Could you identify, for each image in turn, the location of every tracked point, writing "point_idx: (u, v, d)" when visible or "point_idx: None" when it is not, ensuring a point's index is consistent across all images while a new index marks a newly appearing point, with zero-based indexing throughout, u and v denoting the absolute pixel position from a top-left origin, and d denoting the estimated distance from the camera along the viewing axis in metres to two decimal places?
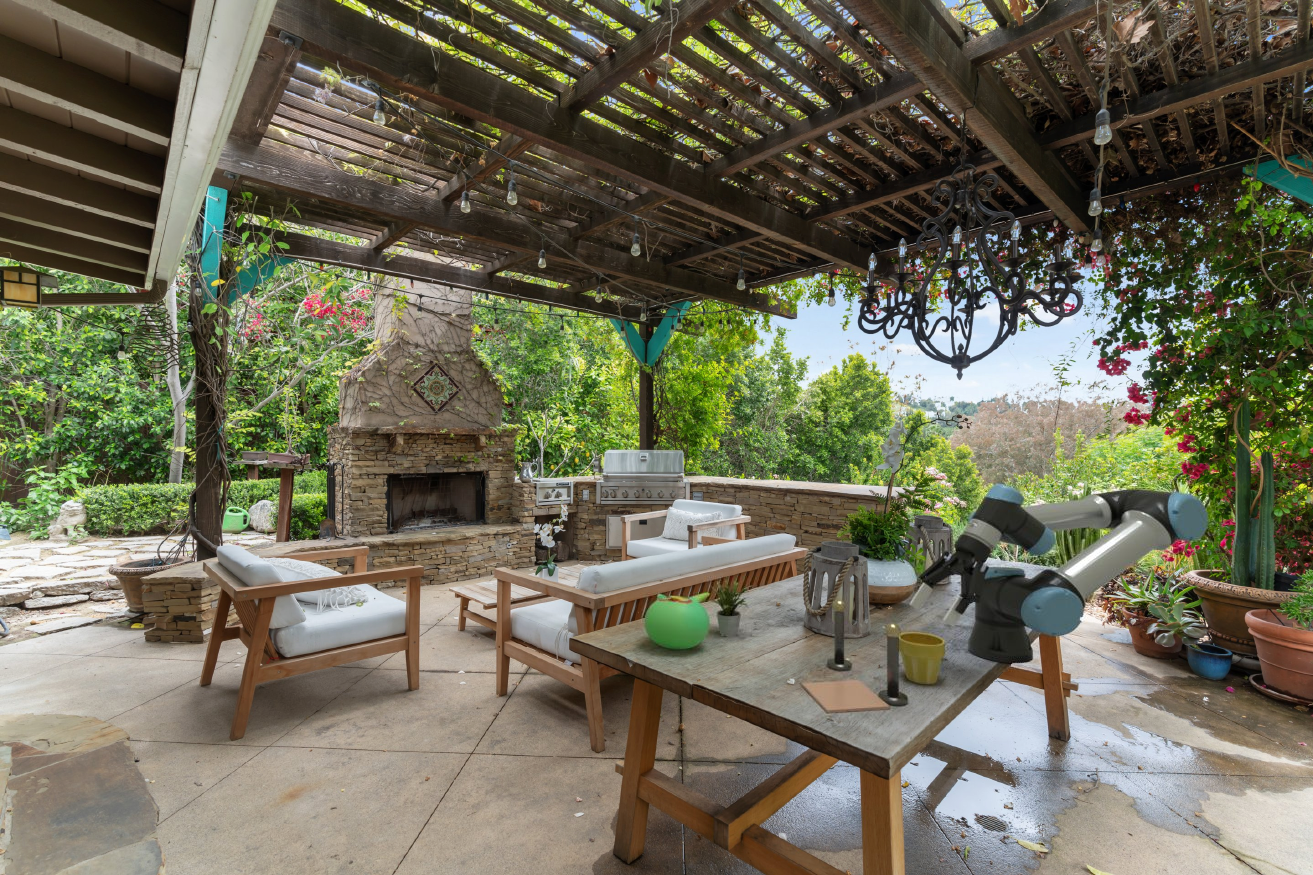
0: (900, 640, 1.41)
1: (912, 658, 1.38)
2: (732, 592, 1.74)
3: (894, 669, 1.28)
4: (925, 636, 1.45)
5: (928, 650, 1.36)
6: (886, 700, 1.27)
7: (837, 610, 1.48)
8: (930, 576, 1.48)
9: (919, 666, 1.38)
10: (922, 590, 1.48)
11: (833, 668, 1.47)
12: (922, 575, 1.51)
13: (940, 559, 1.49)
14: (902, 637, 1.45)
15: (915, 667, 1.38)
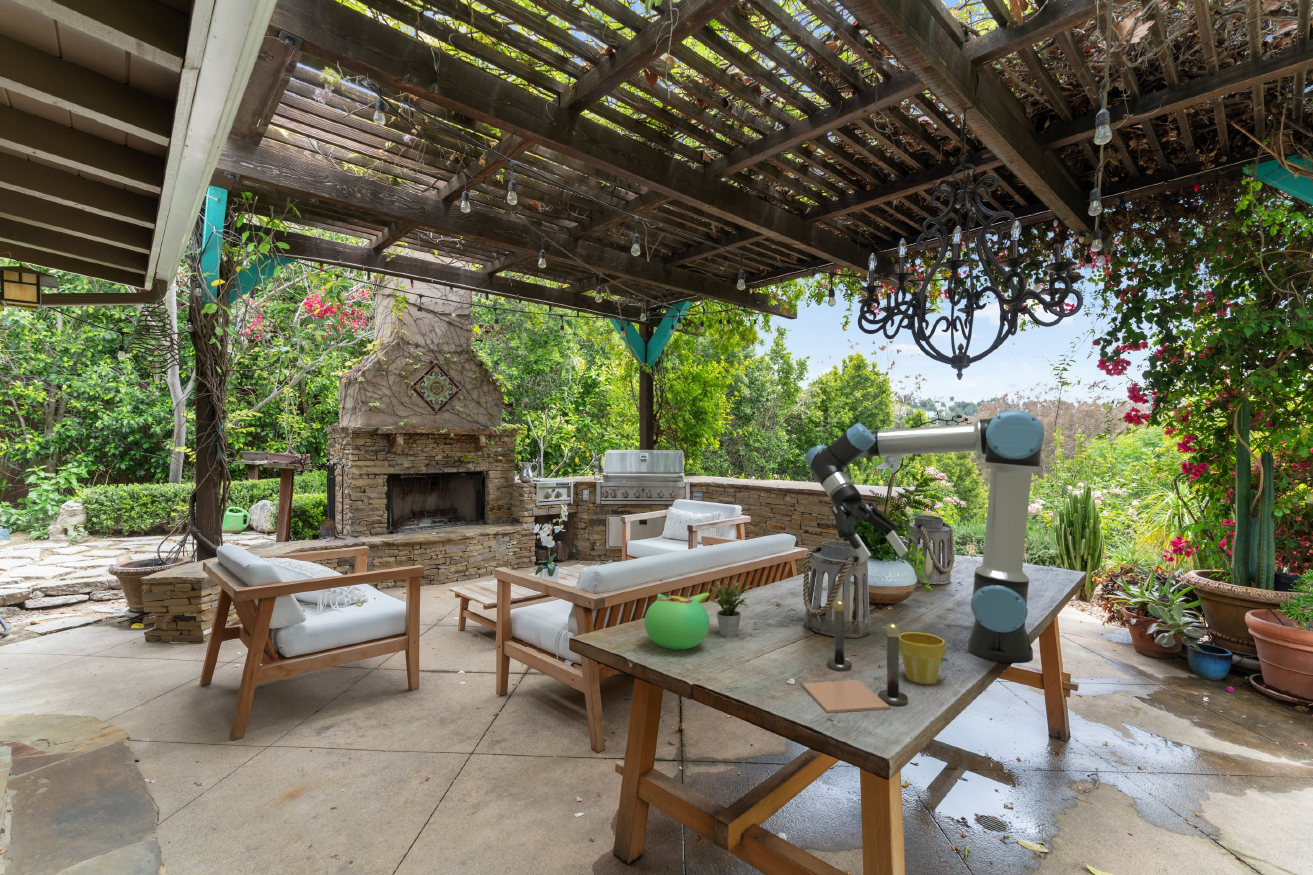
0: (900, 640, 1.41)
1: (912, 658, 1.38)
2: (732, 592, 1.74)
3: (894, 669, 1.28)
4: (925, 636, 1.45)
5: (928, 650, 1.36)
6: (886, 700, 1.27)
7: (837, 610, 1.48)
8: None
9: (919, 666, 1.38)
10: (890, 541, 1.57)
11: (833, 668, 1.47)
12: None
13: None
14: (902, 637, 1.45)
15: (915, 667, 1.38)
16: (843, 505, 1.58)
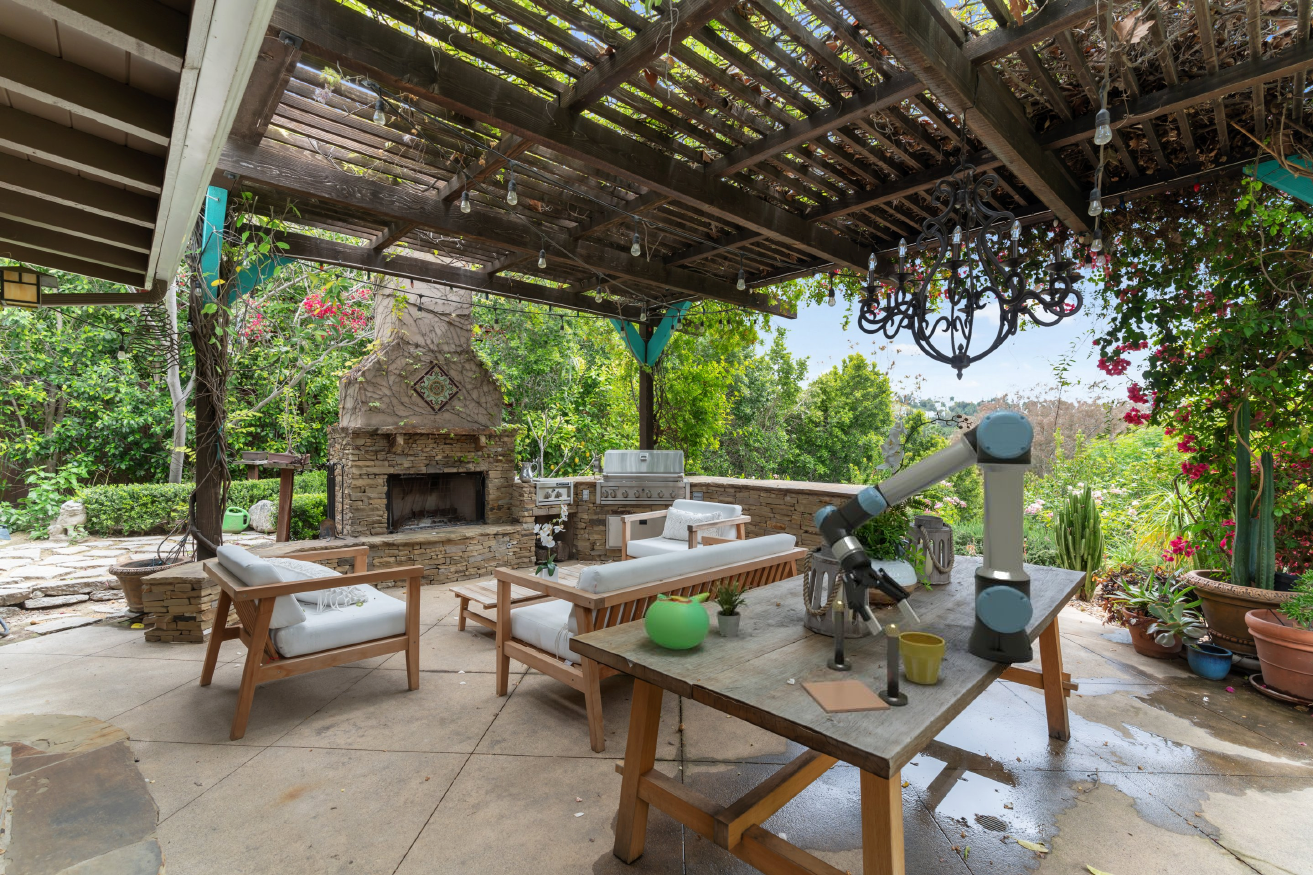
0: (900, 640, 1.41)
1: (912, 658, 1.38)
2: (732, 592, 1.74)
3: (894, 669, 1.28)
4: (925, 636, 1.45)
5: (928, 650, 1.36)
6: (886, 700, 1.27)
7: (837, 610, 1.48)
8: None
9: (919, 666, 1.38)
10: (902, 610, 1.53)
11: (833, 668, 1.47)
12: None
13: None
14: (902, 637, 1.45)
15: (915, 667, 1.38)
16: (853, 573, 1.54)
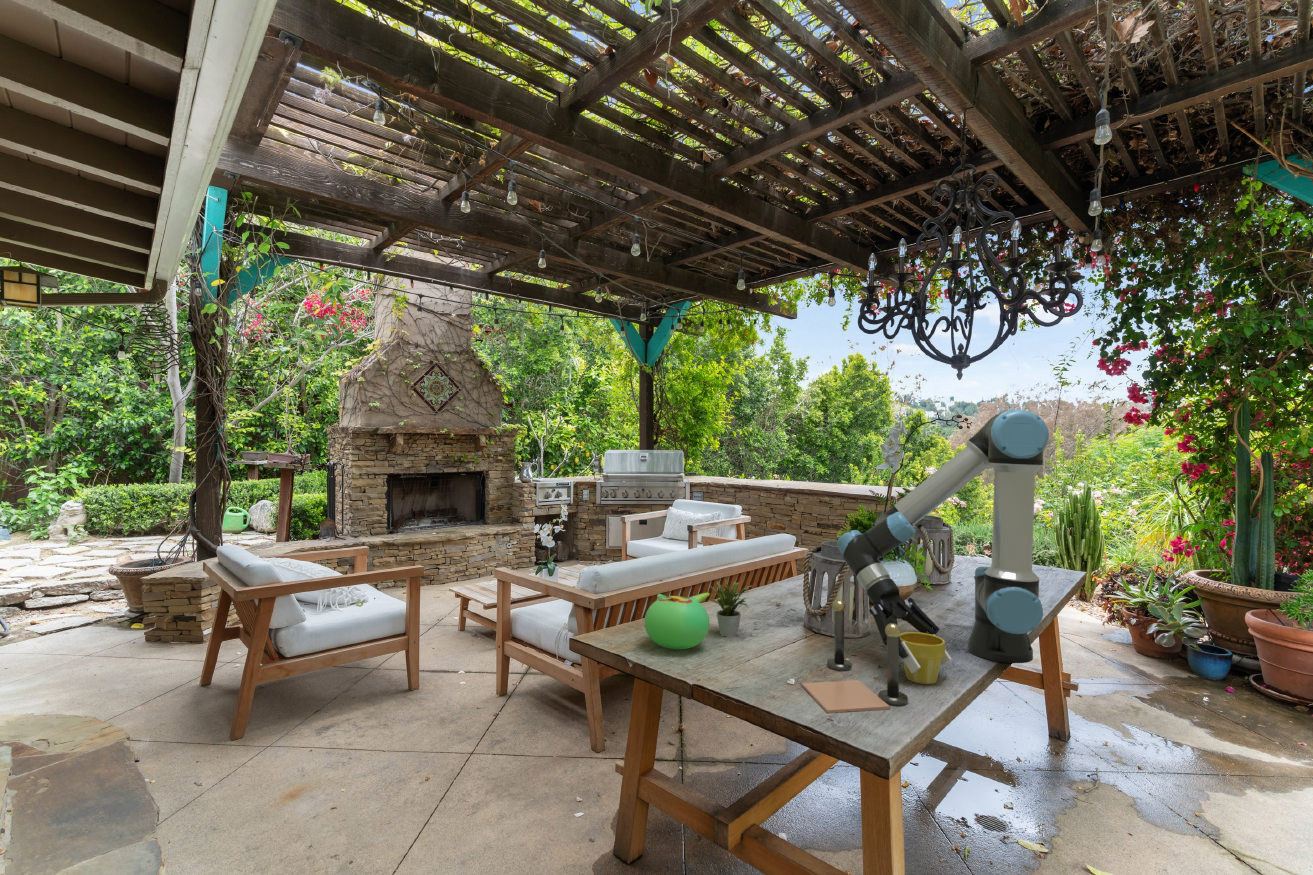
0: (900, 640, 1.41)
1: None
2: (732, 592, 1.74)
3: (894, 669, 1.28)
4: (925, 636, 1.45)
5: (928, 649, 1.36)
6: (886, 700, 1.27)
7: (837, 610, 1.48)
8: None
9: None
10: None
11: (833, 668, 1.47)
12: None
13: None
14: (902, 637, 1.45)
15: None
16: (881, 603, 1.47)
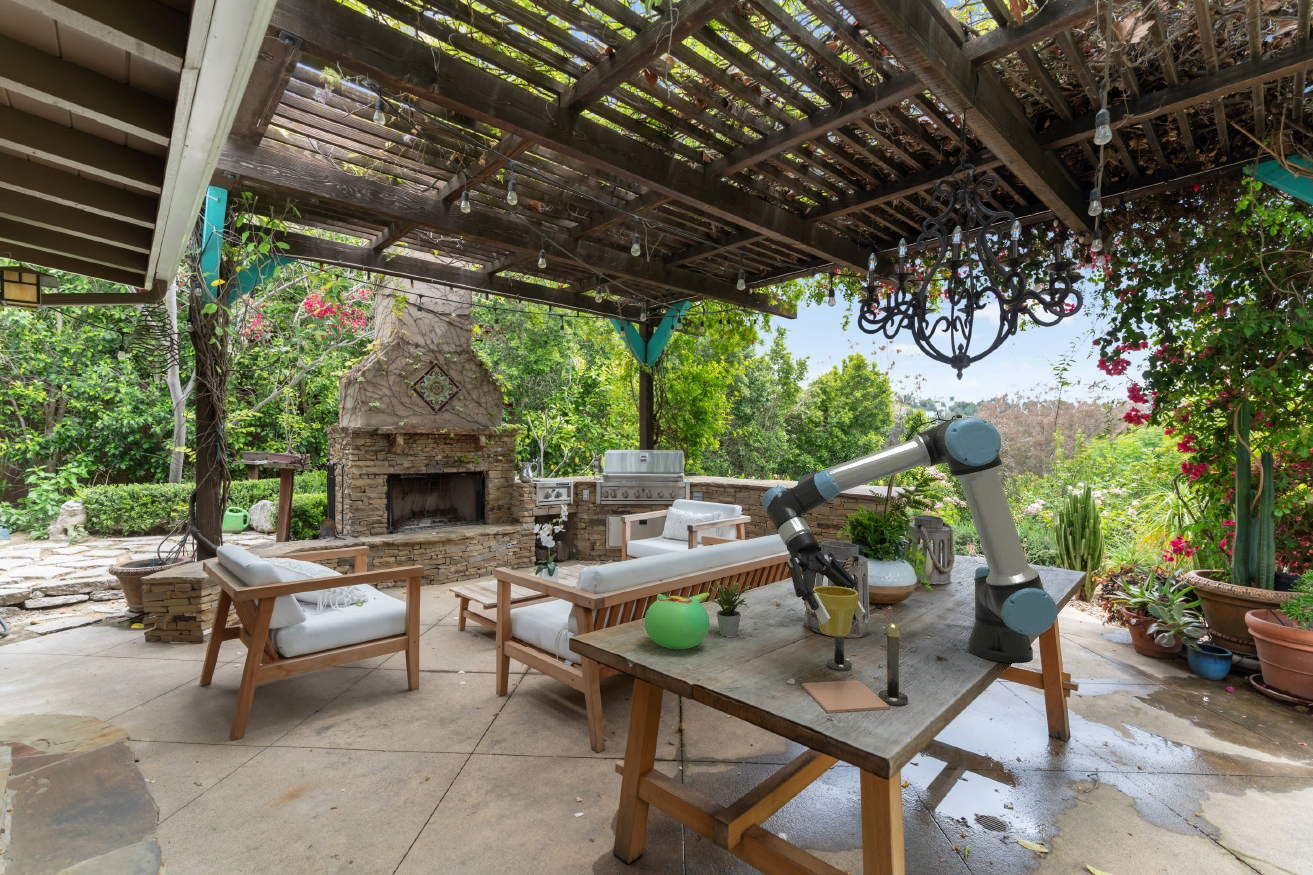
0: (813, 592, 1.38)
1: None
2: (732, 592, 1.74)
3: (894, 669, 1.28)
4: (841, 590, 1.42)
5: (839, 600, 1.34)
6: (886, 700, 1.27)
7: None
8: None
9: (830, 618, 1.35)
10: None
11: (833, 668, 1.47)
12: None
13: None
14: (818, 590, 1.42)
15: None
16: (798, 556, 1.44)
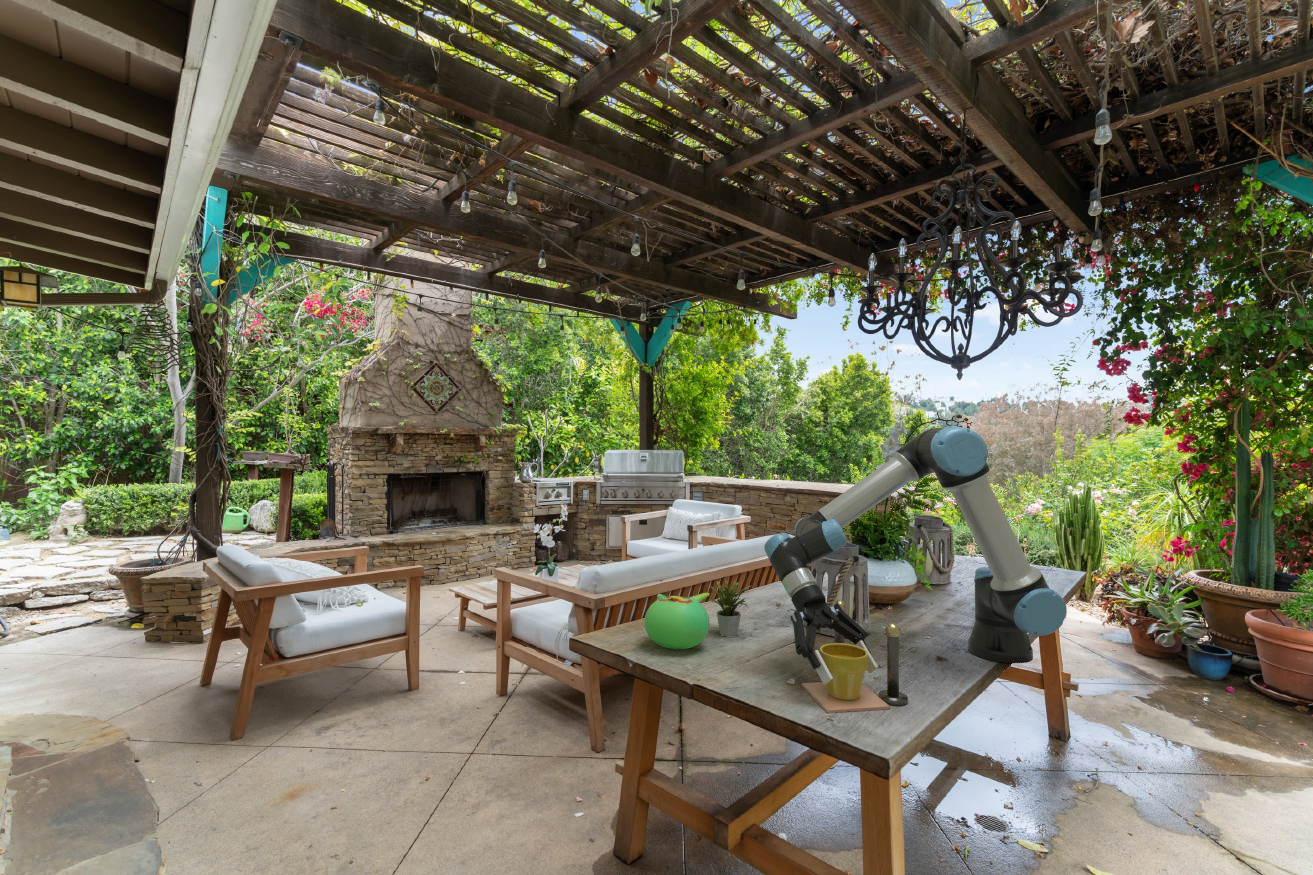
0: (821, 652, 1.31)
1: (832, 672, 1.28)
2: (732, 592, 1.74)
3: (894, 669, 1.28)
4: (850, 648, 1.35)
5: (848, 663, 1.26)
6: (886, 700, 1.27)
7: None
8: None
9: (839, 681, 1.27)
10: None
11: None
12: None
13: None
14: (825, 649, 1.34)
15: (835, 682, 1.28)
16: (803, 610, 1.37)
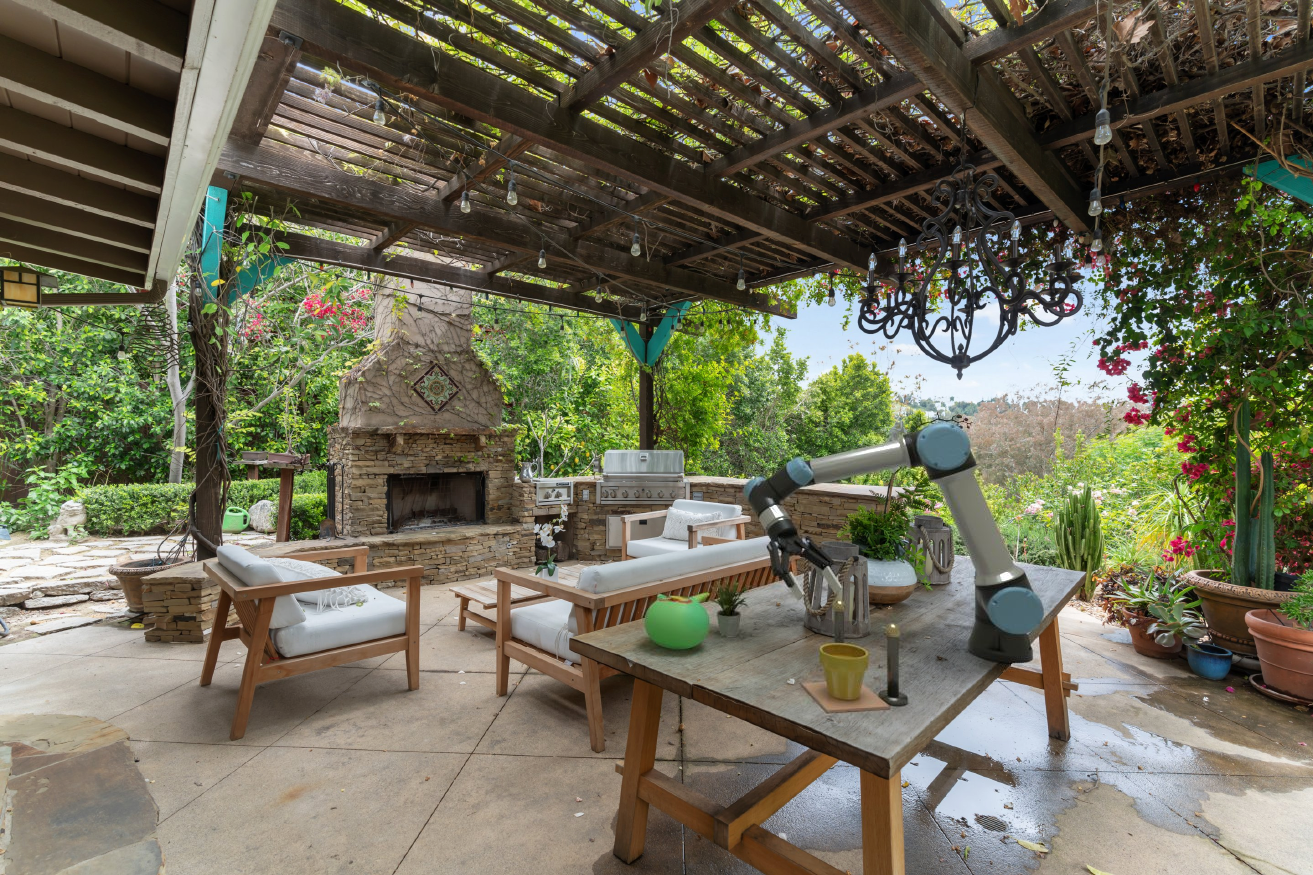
0: (821, 652, 1.31)
1: (832, 672, 1.28)
2: (732, 592, 1.74)
3: (894, 669, 1.28)
4: (850, 648, 1.35)
5: (848, 663, 1.26)
6: (886, 700, 1.27)
7: (837, 610, 1.48)
8: None
9: (839, 680, 1.27)
10: (826, 577, 1.54)
11: None
12: None
13: None
14: (825, 649, 1.35)
15: (835, 682, 1.28)
16: (778, 540, 1.55)
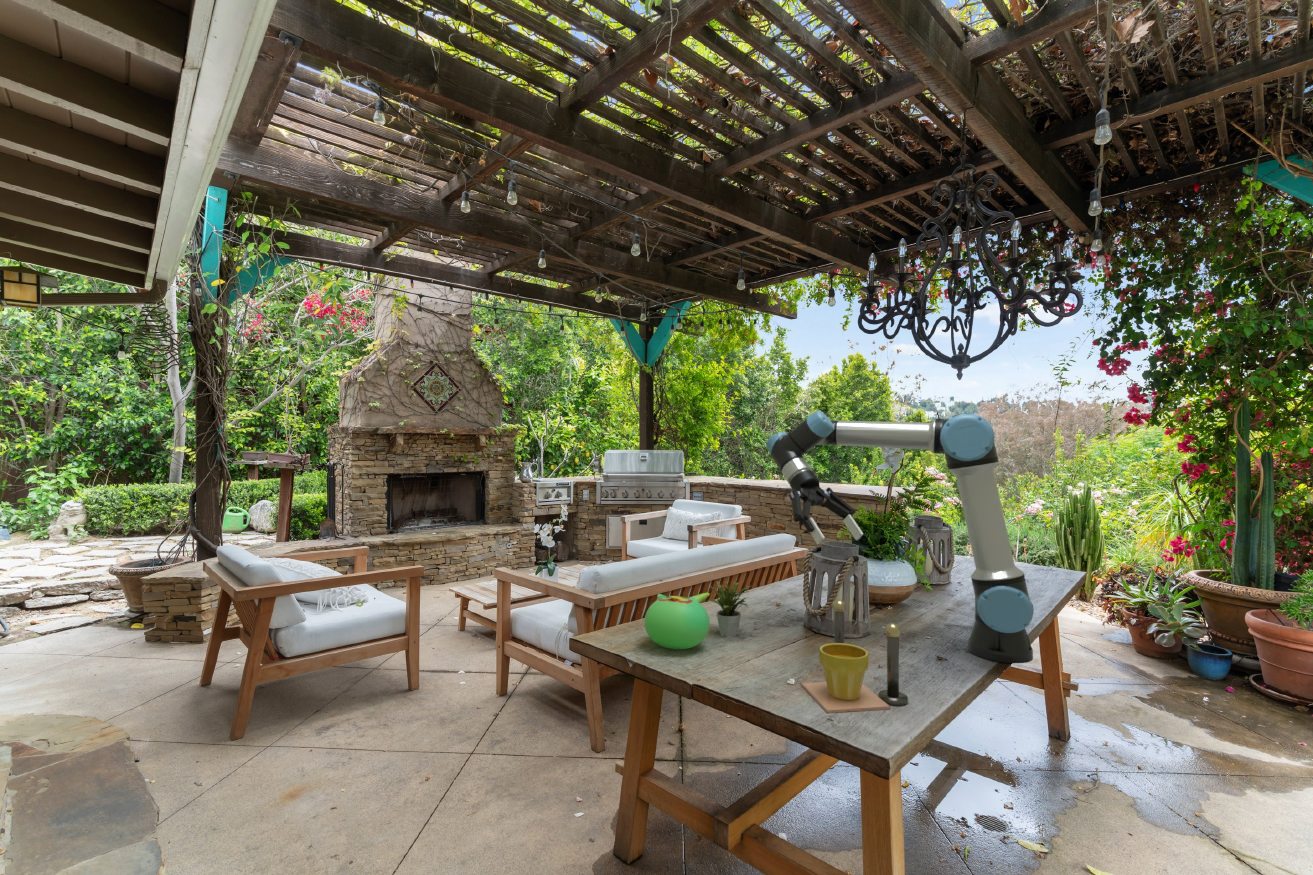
0: (821, 652, 1.31)
1: (832, 672, 1.28)
2: (732, 592, 1.74)
3: (894, 669, 1.28)
4: (850, 648, 1.35)
5: (848, 663, 1.26)
6: (886, 700, 1.27)
7: (837, 610, 1.48)
8: None
9: (839, 681, 1.27)
10: (847, 525, 1.59)
11: None
12: None
13: None
14: (825, 649, 1.34)
15: (835, 682, 1.28)
16: (800, 490, 1.60)
